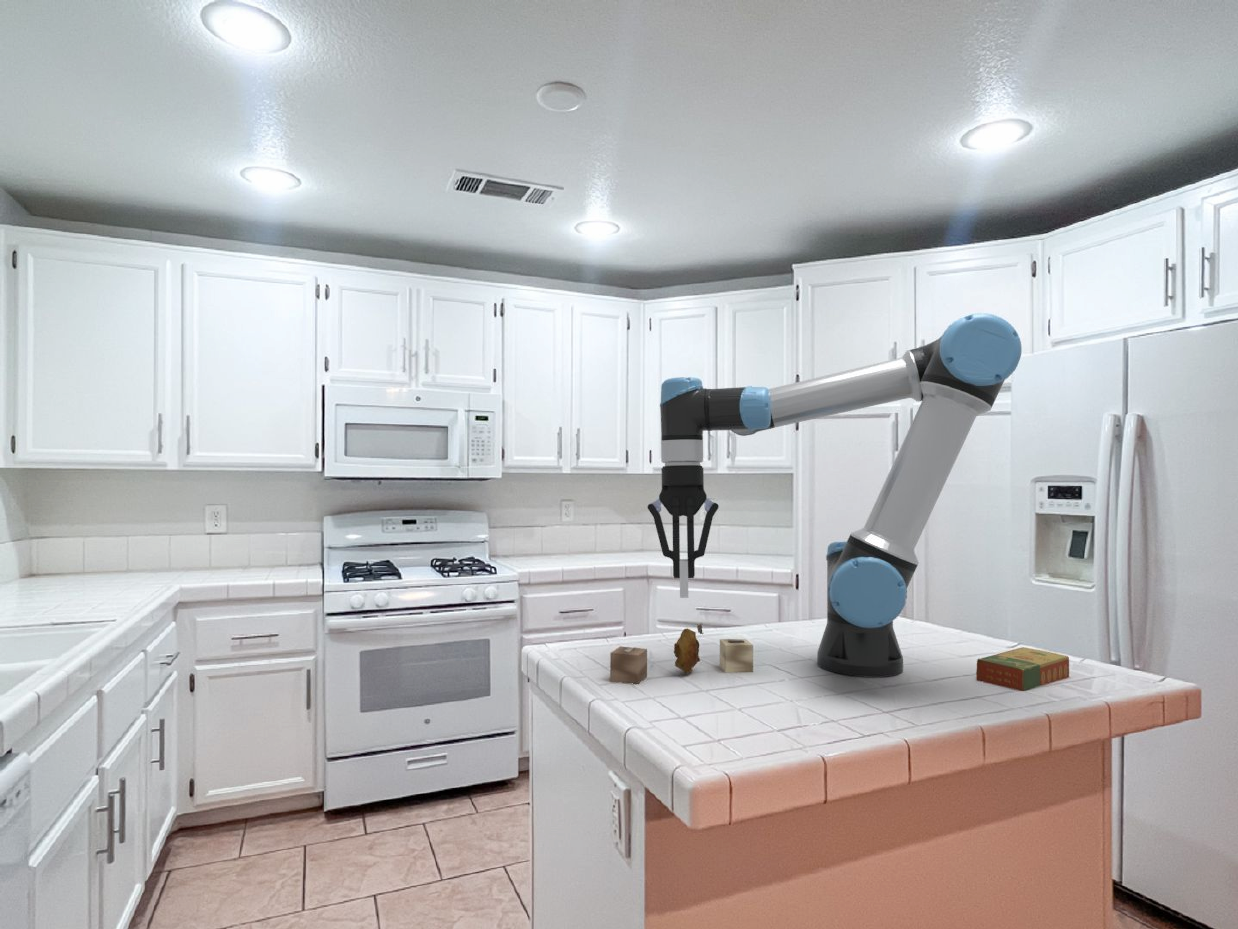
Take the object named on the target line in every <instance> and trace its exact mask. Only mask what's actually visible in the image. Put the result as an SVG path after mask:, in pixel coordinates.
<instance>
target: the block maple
mask: <svg viewBox="0 0 1238 929" xmlns="http://www.w3.org/2000/svg"><path fill="white" fill-rule="evenodd" d="M719 668H721V669H722V671H723V672H724V673H725V674H741V673H743V674H744V673H746V674H747V673H754V644H753V643H752V642H750V641H749V640H748V639H746V638H720V639H719Z"/></svg>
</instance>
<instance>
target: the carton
mask: <svg viewBox="0 0 1238 929" xmlns="http://www.w3.org/2000/svg"><path fill="white" fill-rule="evenodd" d="M975 674H976V675H975V676H976V677H975V679H976V681H977V682H978V681H979V682H982V681H983V683H985V684H986V683H987V684H992V685H995V686H999V687H1003V688H1008V689H1012V690H1017V691H1021V692H1026V691H1030V690H1033V689H1036V688H1039V687H1042V686H1045V685H1048V684H1052V683H1054V682H1059V681H1061V680H1065V679H1067V678H1068V679H1069V678H1070V657H1069V656H1068V655H1065V654H1060V653H1056V652H1050V651H1046V650H1040V649H1037V648H1036V649H1034V648H1029V647H1022V646H1021V647H1019V648H1015V649H1011V650H1008V651H1004V652H1001V653H996V654H993V655H988V656H986V657H981V658H977V660H976V672H975Z"/></svg>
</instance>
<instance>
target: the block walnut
mask: <svg viewBox="0 0 1238 929" xmlns="http://www.w3.org/2000/svg"><path fill="white" fill-rule="evenodd" d="M609 655H610V658H609V659H610V661H609V664H610V667H609V668H610V671H609V672H610V674H609V676H610V679H609V682H610V683H618V682H622V684H628V683H633V684H632V685H637V684H638V685H639V684H641V683H642V682H643V681H644V680H646V679H647V678H648V648H643V647H642V648H641V647H631V646H621V645H620V646H619V647H617V648H616V649H614V650H612V651H611V652H610V654H609ZM641 681H642V682H641ZM640 682H641V683H640Z"/></svg>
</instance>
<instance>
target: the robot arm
mask: <svg viewBox="0 0 1238 929" xmlns="http://www.w3.org/2000/svg"><path fill="white" fill-rule="evenodd" d="M1022 352H1023V351H1022V341H1021V338H1020V336H1019V334H1018V332H1017V329H1015V327H1014V326H1013V325H1012V324H1011V323H1010V322H1009V321H1007V320H1006V319H1004V318H1002V317H1001V316H997V315H994V314H991V313H982V312H978V313H973V314H972V313H971V314H969V315H965V316H963V317H960V318H957V319H956V320H955V321H953V322H952V323H951V324H949V325H948V326H947V328H946V329H945V330H944V332H943V333H942V335H941V336H940V337H939V338H938V339H937V338H936V340H934V341H932V342H929V343H927V344H925V345H922V346H919V347H915V348H913V349H909V350H906V351H905V352H904V354H903V355H902V356H901V357H898V358H894V359H890V360H886V361H882V362H877V363H873V364H868V365H865V366H861V367H856V368H851V369H848V370H843V371H840V372H835V373H831V374H827V375H824V376H818V377H814V378H811V379H810V378H809V379H806V380H801V381H798V382H793V383H789V384H784V385H781V386H776V387H772V388H767V387H765V386H752V385H748V386H743V387H741V386H740V387H728V388H727V387H725V388H724V387H723V388H705V387H704V386H703V382H702V379H700V378H698V377H691V376H690V377H670V378H667V379H665V380H664V381H663V382H662V384H661V386H660V387H661V389H660V403H659V407H660V434H661V436H660V459H661V463H663V464H664V466H662V468H660V469H661V490H660V493H659V495H658V499H656V500H655V501H652V503H649V504H648V505H647V510H648V511H649V513H650V514H651V516H652V517H653V521H654V524H655V530H656V532H657V535H658V541H659V545H660V549H661V552H662V555H663V556H664V557H665V558H669V559H671V560H672V572H673V573H672V574H673V578H674V579H679V598H680V599H683V598H684V599H688V598H689V579H694V578H695V575H696V574H695V561H696V559H699V558H702V557H704V555H705V553H706V549H707V545H708V540H709V535H710V531H711V526H712V522H713V518H714V516H715V515H716V513H717V512H718V510H719V508H720V507H719V504H718V503H716V502H713V501H712V500H711V499H709V498H707V497H708V496H707V493H706V491H705V488H704V484H705V483H704V482H705V481H704V480H705V479H704V478H705V476H704V467H703V466H702V465H701V463H703V462H704V440H703V439H704V435H703V434H704V432H705V431H708V432H711V431H731V432H732V433H734V434H736V435H738V436H742V437H745V436H746V437H747V436H751V435H754V434H756V433H758V432H762V431H766V430H772V429H775V428H779V427H784V426H788V425H792V424H797V423H800V422H801V423H802V422H806V421H807V422H808V421H811V420H815V419H816V420H817V419H821V418H824V417H828V416H829V417H830V416H833V415H838V414H841V413H843V414H844V413H846V412H851V411H856V410H860V409H865V408H869V407H874V406H878V405H883V404H888V403H892V402H896V401H901V400H902V401H903V400H906V399H912V400H913V401H916V402H920V405H919V407H918V408H917V412H916V414H915V416H914V417H913V420H912V422H911V424H910V427H909V429H908V431H907V433H906V435H905V438H904V439H903V442H902V443H901V447H900V448H899V450H898V453H897V455H896V457H895V460H894V461H893V463H892V465H891V468H890V469H889V472H888V475H887V477H886V478H885V481H884V483H883V486H882V487H881V490H880V492H879V494H878V496H877V498H876V501H875V503H874V505H873V507H872V508H871V511H870V514H869V515H868V518H867V519H866V521H865V524H864V527H862V528H860V529H858V530H855V531H852V532H850V534H849V537H848V538H847V540H846V541H834V542H831V543H830V544H829V545H828V546H827V551H826V552H827V553H826V556H825V560H826V562H827V563H826V564H827V565H826V566H827V567H826V579H827V582H826V583H827V585H826V589H827V590H826V596H827V597H826V601H827V602H826V607H827V608H826V609H827V610H826V612H827V613H826V621H827V622H826V626H825V629H824V631H823V634H822V636H821V637H822V638H821V640H820V644H819V646H818V649H817V656H816V657H817V661H816V662H817V666H819V667H821V668H822V669H824V670H826V671H829V672H833V673H837V674H842V675H848V676H855V677H867V678H869V677H871V678H877V677H879V678H881V677H882V678H883V677H891V676H892V677H893V676H897V675H899V674H902V673H903V671H904V658H903V654H902V651H901V647H900V644H899V642H898V638H897V636H896V633H895V629H894V621H895V620H896V619H897V618H898V617H899V615H900V614H901V613H902V611H903V610H904V608H905V607H906V606H905V605H906V603H907V602H906V600H907V598H908V596H907V593H908V590H907V589H908V587H909V585H910V583H911V581H912V578H913V577H914V574H915V572H916V570H917V567H918V565H919V560H918V558H917V555H916V553H915V548H916V546H917V544H918V542H919V540H920V537H921V535H922V533H923V532H924V529H925V527H926V525H927V523H928V520H929V518H930V516H931V514H932V511H933V510H934V509H935V506H936V503H937V501H938V499H939V497H940V495H941V493H942V491H943V488H944V486H945V484H946V483H947V480H948V478H949V476H950V473H951V472H952V470H953V467H954V464H955V463H956V461H957V459H958V456H959V455H960V452H961V450H962V448H963V446H964V443H965V441H966V439H967V437H968V435H969V434H970V431H971V428H972V427H973V424H974V422H975V420H976V419H977V417H978V416H980V415H981V414H984V413H987V412H989V411H991V410H992V408H993V405H994V403H995V401H996V399H997V397H998V395H999V393H1000V391H1001V389H1002V387H1003V385H1004V383H1005V380H1006V379H1008V378H1009V377H1011V376H1012V375H1013V373H1014V371H1016V369H1017V367H1018V365H1019V362H1020V361H1021V357H1022ZM661 505H663V507H664V508H665V510H666V511H667V512H668V513H669V515H671V517H672V518H671V519H672V550H671V549H670V548H669V544H668V540H667V539H668V538H667V535H666V531H665V526H664V523H663V520H662V516H661V513H660V512H662V506H661ZM703 505H704V511H705V512H706V513H705V517H704V521H703V524H702V525H703V527H702V530H701V534H700V538H699V544H698V548H697V549H696V550H695V519H694V518H695V517H694V516H696V514H698V512H699V510H700V509H701V508H702V506H703ZM682 516H684V517H686V534H687V535H686V542H687V545H686V546H687V551H686V552H687V558H685V559H684V558H683V559H680V558H681V553H680V552H681V546H680V545H681V544H680V540H681V538H680V517H682Z"/></svg>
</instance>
